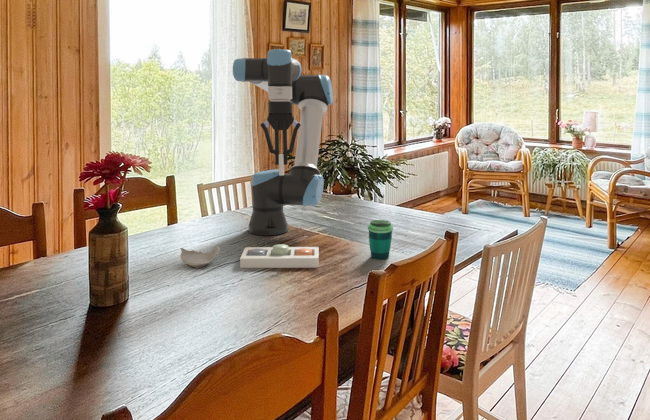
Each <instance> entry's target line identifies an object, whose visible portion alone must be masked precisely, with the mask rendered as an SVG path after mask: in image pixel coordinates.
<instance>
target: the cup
mask: <svg viewBox="0 0 650 420" xmlns="http://www.w3.org/2000/svg"><path fill="white" fill-rule="evenodd" d="M367 230H368V242H369V251H370V256H371V258H372V259H374V260H378V261H382V260H388V259H389V257H390V251H391V245H392V238H393V236H392V234H393V230H394V226H393V225H392V222H391V221H389V220H385V219H375V220H374V219H373V220H371V221H370V223H369V224H368V225H367Z"/></svg>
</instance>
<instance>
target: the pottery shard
mask: <svg viewBox="0 0 650 420" xmlns="http://www.w3.org/2000/svg"><path fill="white" fill-rule="evenodd" d="M179 248H180V251H181V252H180V256H179V257H180V259H181V261H182V262H184V263H185V264H187V265H189V266H190V267H193V268H202V267H205V266H207V264H210V263H211V262H212V261H214V259H216V256H217V255H218V253H219V252H220V250H221V249H220V247H219V246H215V247H214V249H212V250H211V251H210V252H207V253H206V252H202V251H196V250H194V249H193V250H188V249H185V248H183V247H179Z"/></svg>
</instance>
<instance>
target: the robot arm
mask: <svg viewBox="0 0 650 420" xmlns="http://www.w3.org/2000/svg"><path fill="white" fill-rule="evenodd" d="M266 55H267V57H263V58H261V57H259V58H258V57H257V58H256V57H253V58H252V57H251V58H250V57H249V58H246V57H242V58H236V59H235V60H233V64H232V75H233V78H234V80H235V81H236V82H242V83H246V82H248V83H250V84H252V85H255V86H257V87H258V88H259V89H261V90H264V91H265V92H266V93H267V95H268V96H267V98H268V100H269V101H268V105H267V106H268V116H267V117H266V120H265V121H264V122H262V123H261V124H260V128H262V130H263V133H264V135H265V136H264V137H265V139H266V144H267V148H268V151H269V153H270V154H273V155H275V156H274V157H275V158H274V161H275V165H277V166H278V168H277V169H267V170H263V171H258V172H256V173H254V174H253V175H252V177H251V203H252V205H251V206H252V213H251V215H250V220H249V223H248V233H250V234H252V235H258V236H276V235H281V234H285V233H287V232H288V231H289V223H288V222H287V218H286V215H285V212H284V206H302V207H303V206H304V207H310V206H311V207H312V206H317V205H319V203H320V201H321V199H322V196H323V193H324V184H325V181H324V176H323V175H322V174H321V171H320V169H319V168H318V160H319V152H320V143H321V133H322V127H323V116H324V113H326V112H327V111H328V109H329V108H328V107H329V106H332V105H333V103H334V95H333V85H332V80H331V78H330V77H329V76H328V75H326V74H302V72H303V68H302V64H301V63H300V62H299V60H297V59H295V58H294V57H293V56H292V51H291V50H290V49H281V48H280V49H278V48H277V49H276V48H275V49H269V50H268V51H267V54H266ZM293 105H296V106H298V108H299V110H300V118H299V122H298V121H296V119H295V118H294V115H293ZM269 125H270V126H271V128H272V129H273V130H274V145H273V142H272V138H271V135H270V131H269ZM291 125H292V127H293V131H292V134H291V135H292V136H291V139H290V144H289V147H288V129H290V127H291ZM280 131H282V153H281V154H280ZM297 133H298V134H297ZM297 135H298V136H297ZM296 139H297V143H296ZM295 143H296V150H295V158H294V165H292V166H291V167H290V168H289V172H288V173H285V166H287V164H288V161H289V160H288V155H290V154H292V153H293V151H294V147H295Z"/></svg>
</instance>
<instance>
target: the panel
mask: <svg viewBox="0 0 650 420" xmlns="http://www.w3.org/2000/svg"><path fill="white" fill-rule="evenodd" d="M252 249H263V250H265V256H249V251H250V250H252ZM298 249H311V250H312V256H296V251H297V250H298ZM288 250H289V256H273V246H263V247H262V246H253V247H252V246H251V247H250V246H249V247H248V246H247V247H246V246H245V247H244V248H243V251H242V253H241V255H240V258H239V263H240V264H239V265H240V267H239V268H240V269H257V268H258V269H270V268H271V269H272V268H273V269H276V268H277V269H278V268H279V269H280V268H281V269H282V268H283V269H284V268H286V269H287V268H288V269H289V268H290V269H291V268H292V269H293V268H294V269H295V268H297V269H298V268H299V269H300V268H302V269H303V268H304V269H305V268H306V269H307V268H309V269H310V268H311V269H312V268H319V265H320V264H319V262H320V260H319V258H320V257H319V254H320V253H319V251H320V250H319V246H288Z"/></svg>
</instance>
